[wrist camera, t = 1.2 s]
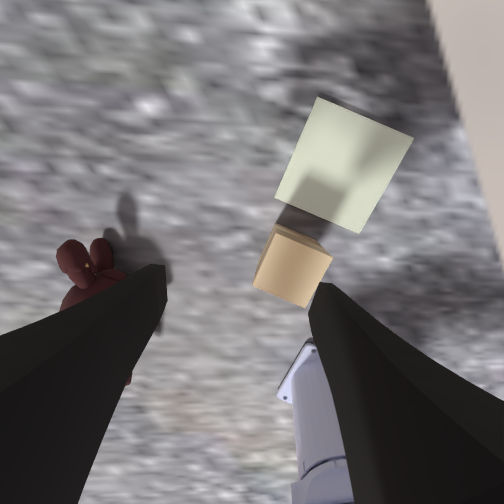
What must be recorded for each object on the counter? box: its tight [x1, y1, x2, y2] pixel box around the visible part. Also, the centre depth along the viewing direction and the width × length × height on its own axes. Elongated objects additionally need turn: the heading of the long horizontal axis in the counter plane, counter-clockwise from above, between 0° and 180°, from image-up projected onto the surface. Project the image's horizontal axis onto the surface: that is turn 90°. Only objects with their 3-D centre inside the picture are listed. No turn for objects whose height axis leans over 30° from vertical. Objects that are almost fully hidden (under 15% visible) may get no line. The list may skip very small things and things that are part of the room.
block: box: [252, 223, 333, 308], centre depth 16 cm, size 4×4×6 cm
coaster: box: [274, 97, 414, 234], centre depth 17 cm, size 8×8×1 cm
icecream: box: [56, 238, 132, 386], centre depth 19 cm, size 7×7×15 cm
